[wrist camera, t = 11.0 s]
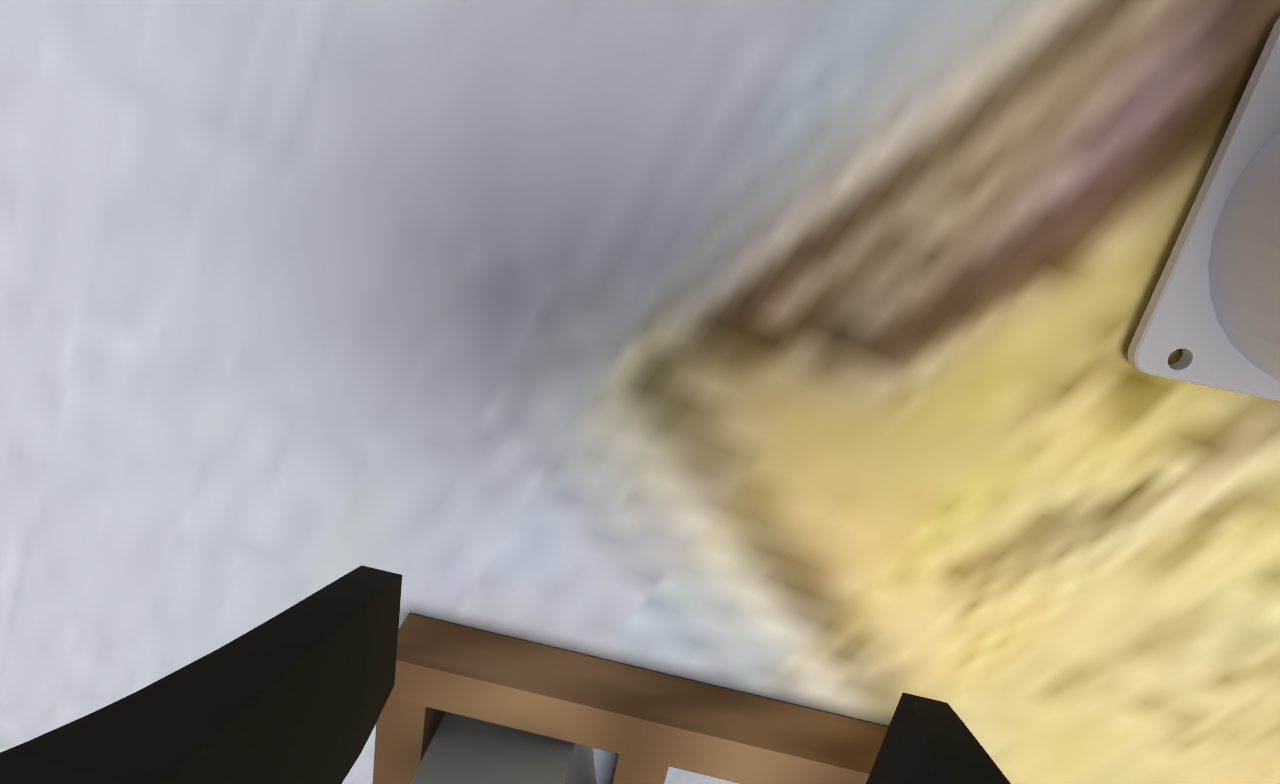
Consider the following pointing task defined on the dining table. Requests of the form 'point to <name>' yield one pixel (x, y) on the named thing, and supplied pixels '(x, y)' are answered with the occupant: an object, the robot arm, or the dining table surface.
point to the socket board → (608, 713)
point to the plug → (500, 756)
